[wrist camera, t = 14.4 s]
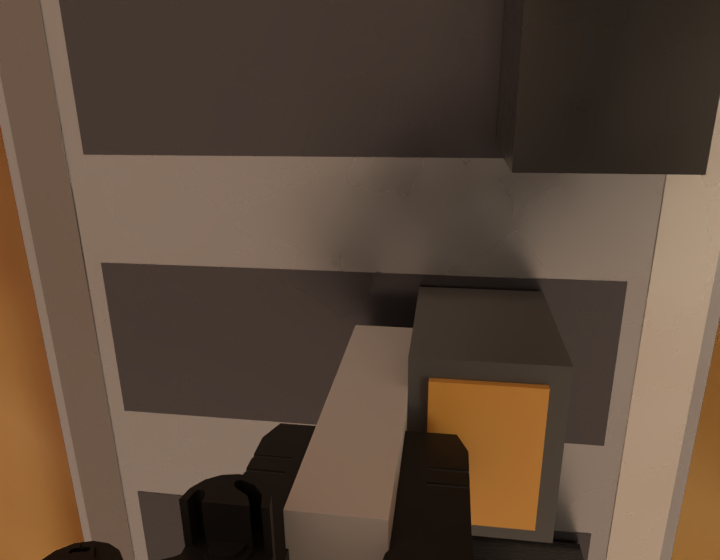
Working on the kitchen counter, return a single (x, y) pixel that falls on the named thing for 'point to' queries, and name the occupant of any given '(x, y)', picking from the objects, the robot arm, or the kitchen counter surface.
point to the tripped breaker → (495, 400)
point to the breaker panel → (362, 227)
